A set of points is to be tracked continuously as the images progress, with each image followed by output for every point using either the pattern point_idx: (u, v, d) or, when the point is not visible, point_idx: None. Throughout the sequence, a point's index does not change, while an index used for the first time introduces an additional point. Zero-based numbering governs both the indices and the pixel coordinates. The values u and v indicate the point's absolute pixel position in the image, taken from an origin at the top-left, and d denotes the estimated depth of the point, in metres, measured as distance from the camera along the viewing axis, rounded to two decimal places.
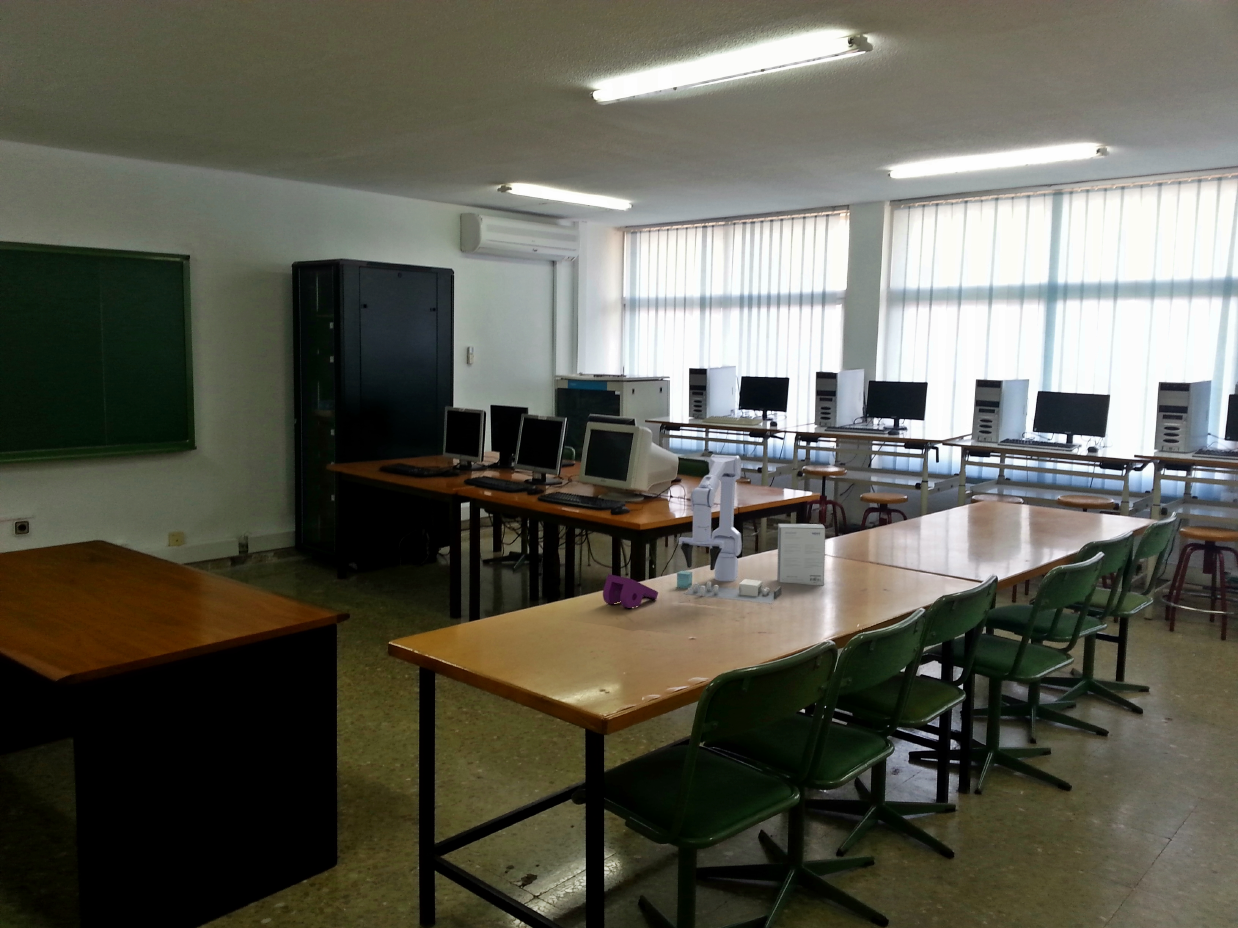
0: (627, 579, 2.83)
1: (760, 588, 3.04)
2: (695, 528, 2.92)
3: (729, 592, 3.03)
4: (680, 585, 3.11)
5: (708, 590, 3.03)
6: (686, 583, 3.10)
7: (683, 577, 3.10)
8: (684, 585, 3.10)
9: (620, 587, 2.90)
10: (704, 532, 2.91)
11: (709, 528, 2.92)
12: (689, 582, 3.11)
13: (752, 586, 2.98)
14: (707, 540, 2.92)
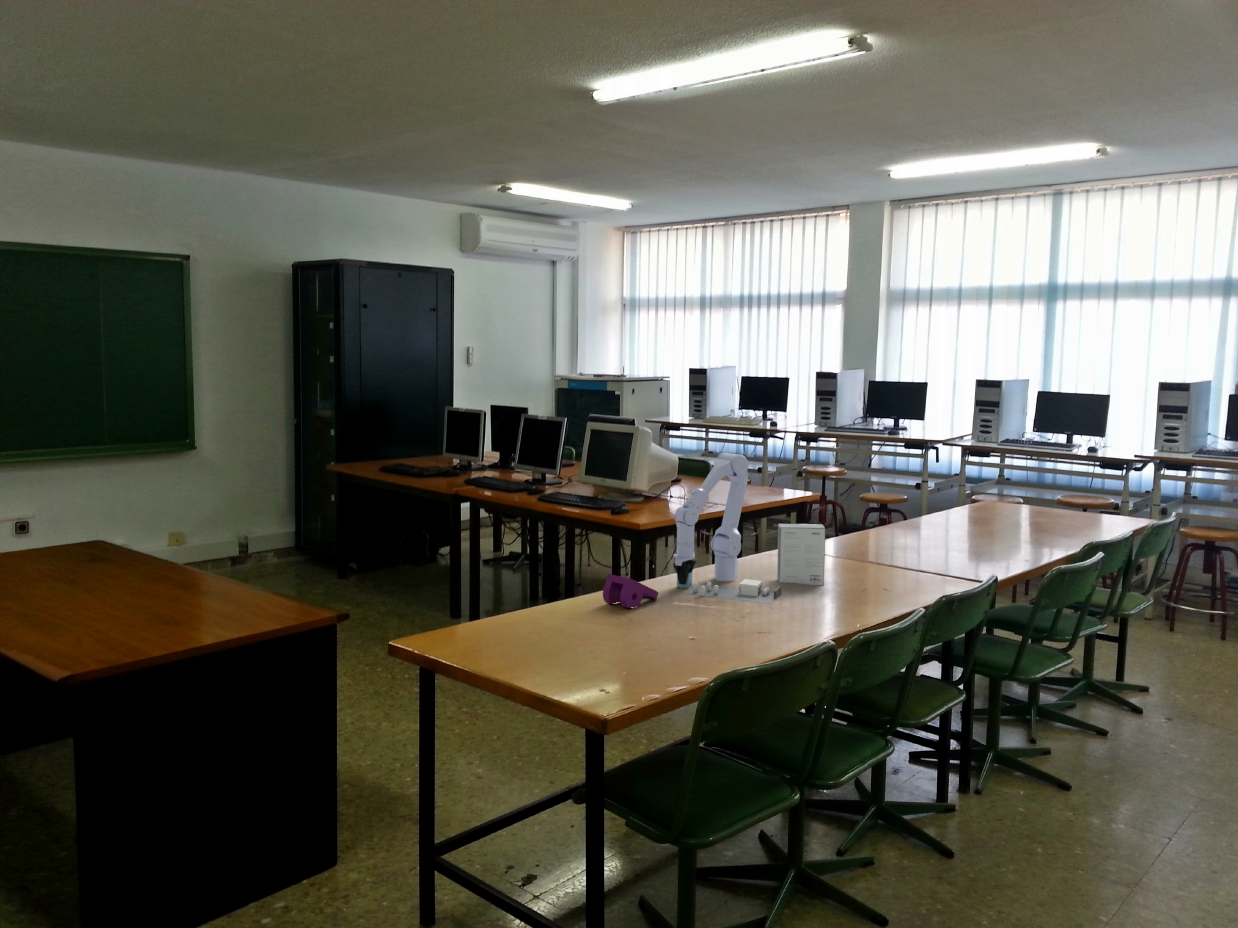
0: (627, 579, 2.83)
1: (760, 588, 3.04)
2: None
3: (729, 592, 3.03)
4: (680, 585, 3.11)
5: (708, 590, 3.03)
6: (686, 583, 3.10)
7: None
8: (684, 585, 3.10)
9: (620, 587, 2.90)
10: (677, 548, 3.10)
11: (681, 545, 3.09)
12: (689, 582, 3.11)
13: (752, 586, 2.98)
14: (678, 555, 3.10)
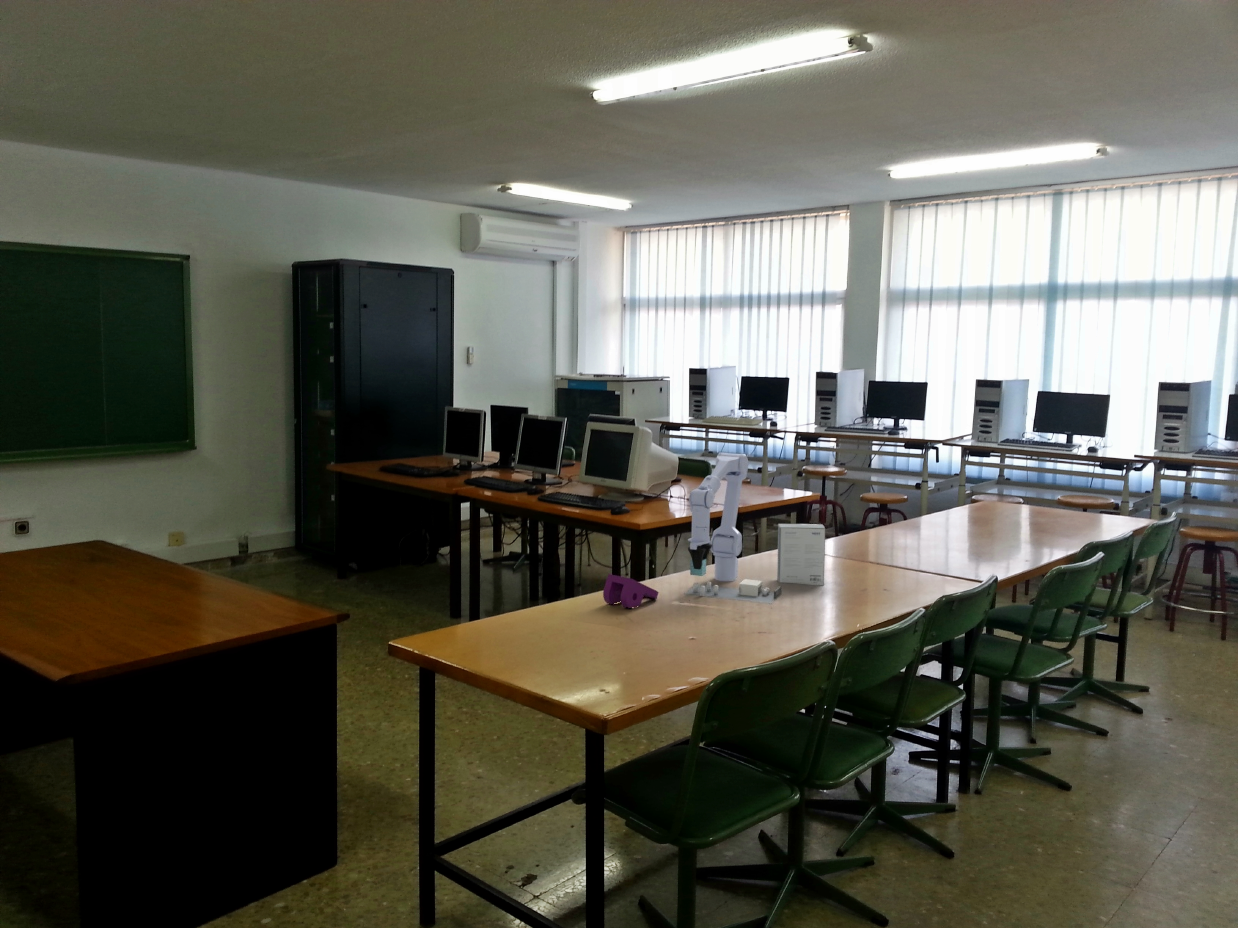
0: (627, 579, 2.83)
1: (760, 588, 3.04)
2: None
3: (729, 592, 3.03)
4: (693, 572, 3.02)
5: (708, 590, 3.03)
6: (700, 570, 3.01)
7: None
8: (697, 572, 3.02)
9: (620, 587, 2.90)
10: (692, 531, 3.01)
11: (696, 528, 3.00)
12: (703, 569, 3.02)
13: (752, 586, 2.98)
14: (693, 539, 3.01)
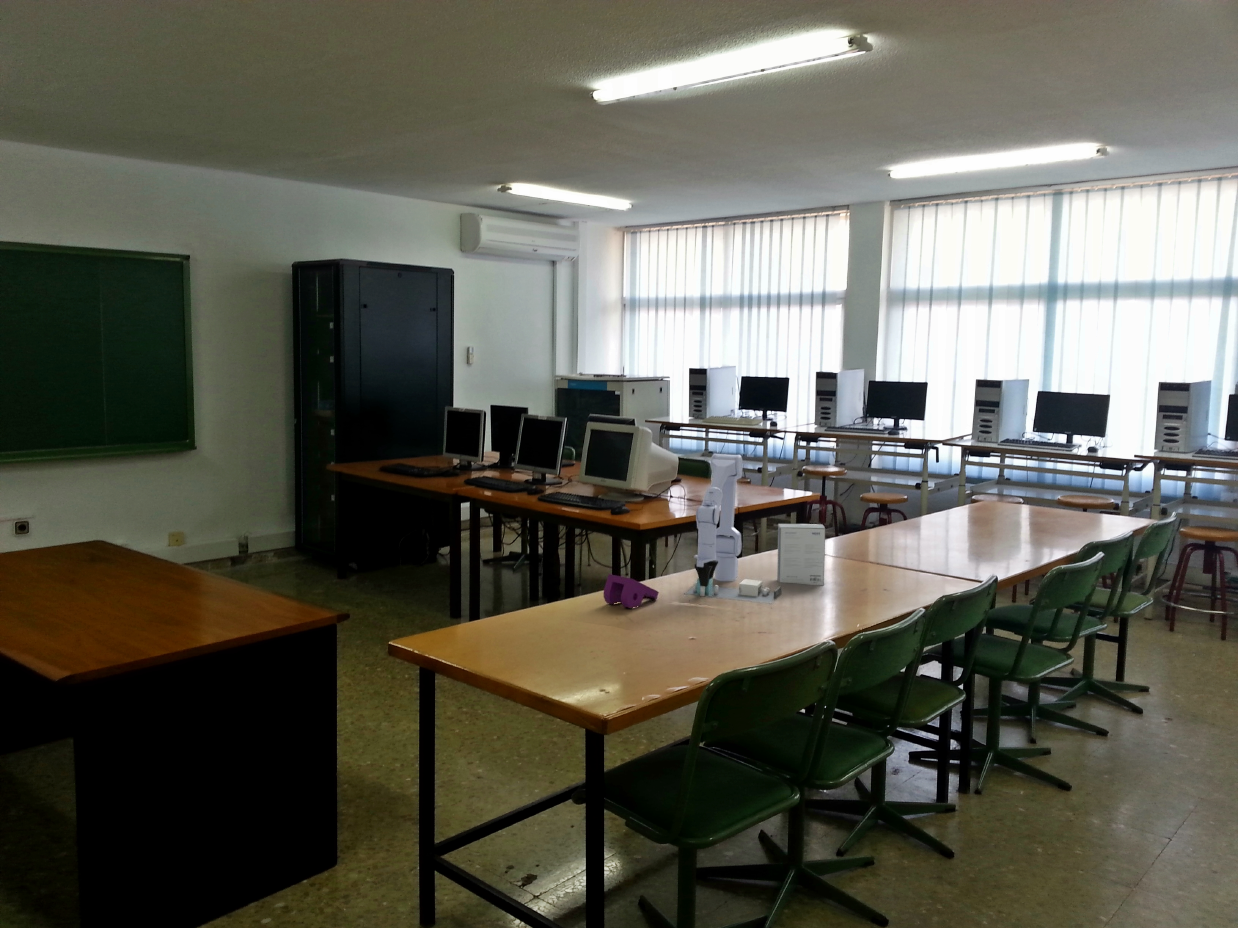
0: (628, 579, 2.83)
1: (760, 588, 3.04)
2: None
3: (729, 592, 3.03)
4: None
5: None
6: (706, 589, 2.98)
7: None
8: None
9: (621, 587, 2.90)
10: (698, 548, 2.99)
11: (702, 545, 2.97)
12: (709, 588, 2.99)
13: (752, 586, 2.98)
14: (699, 556, 2.98)
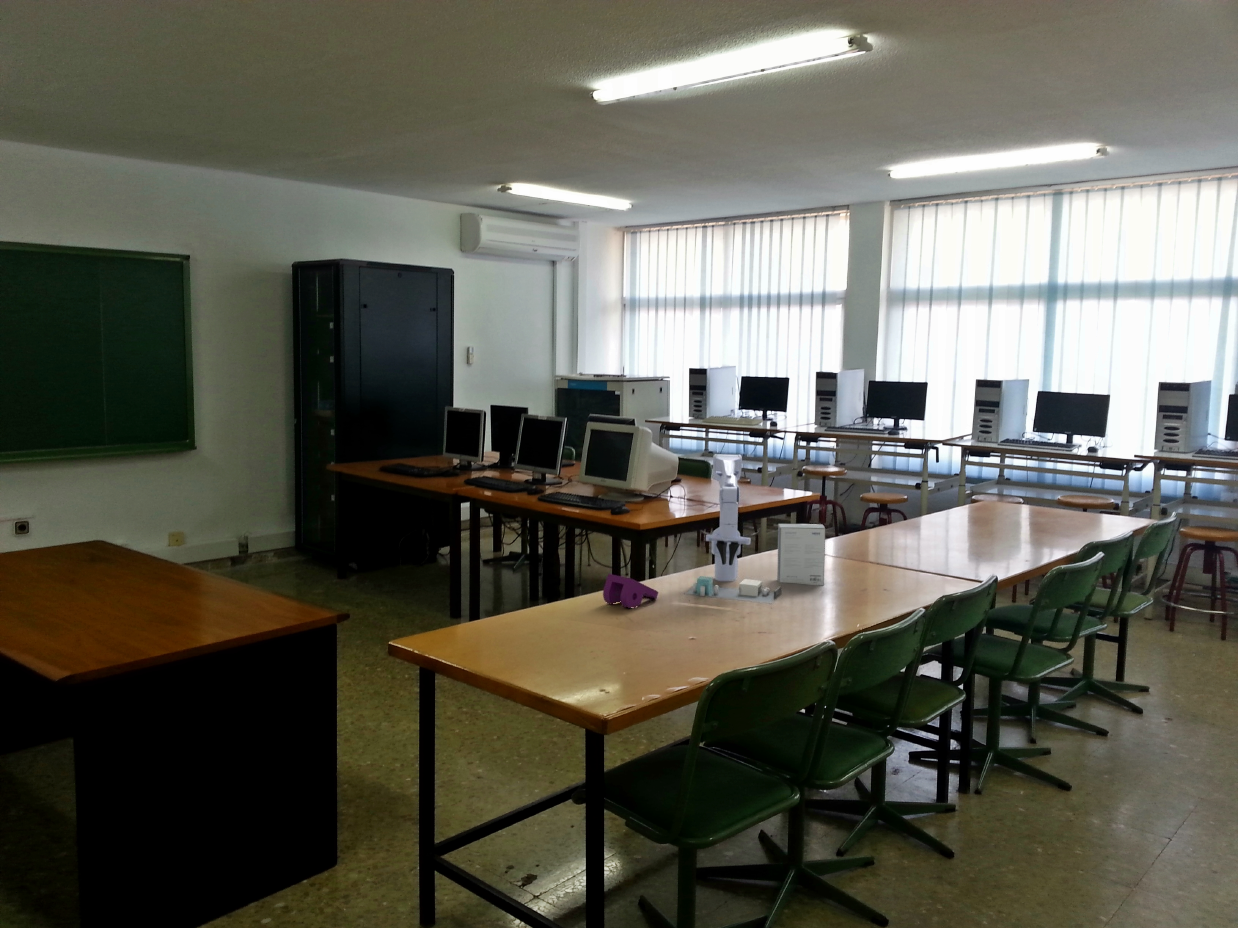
0: (627, 579, 2.84)
1: (760, 588, 3.04)
2: (722, 525, 3.01)
3: (729, 592, 3.03)
4: None
5: None
6: (706, 589, 2.98)
7: (703, 583, 2.99)
8: None
9: (620, 587, 2.90)
10: (731, 529, 3.00)
11: (736, 525, 3.01)
12: (709, 588, 2.99)
13: (752, 586, 2.98)
14: (734, 537, 3.01)
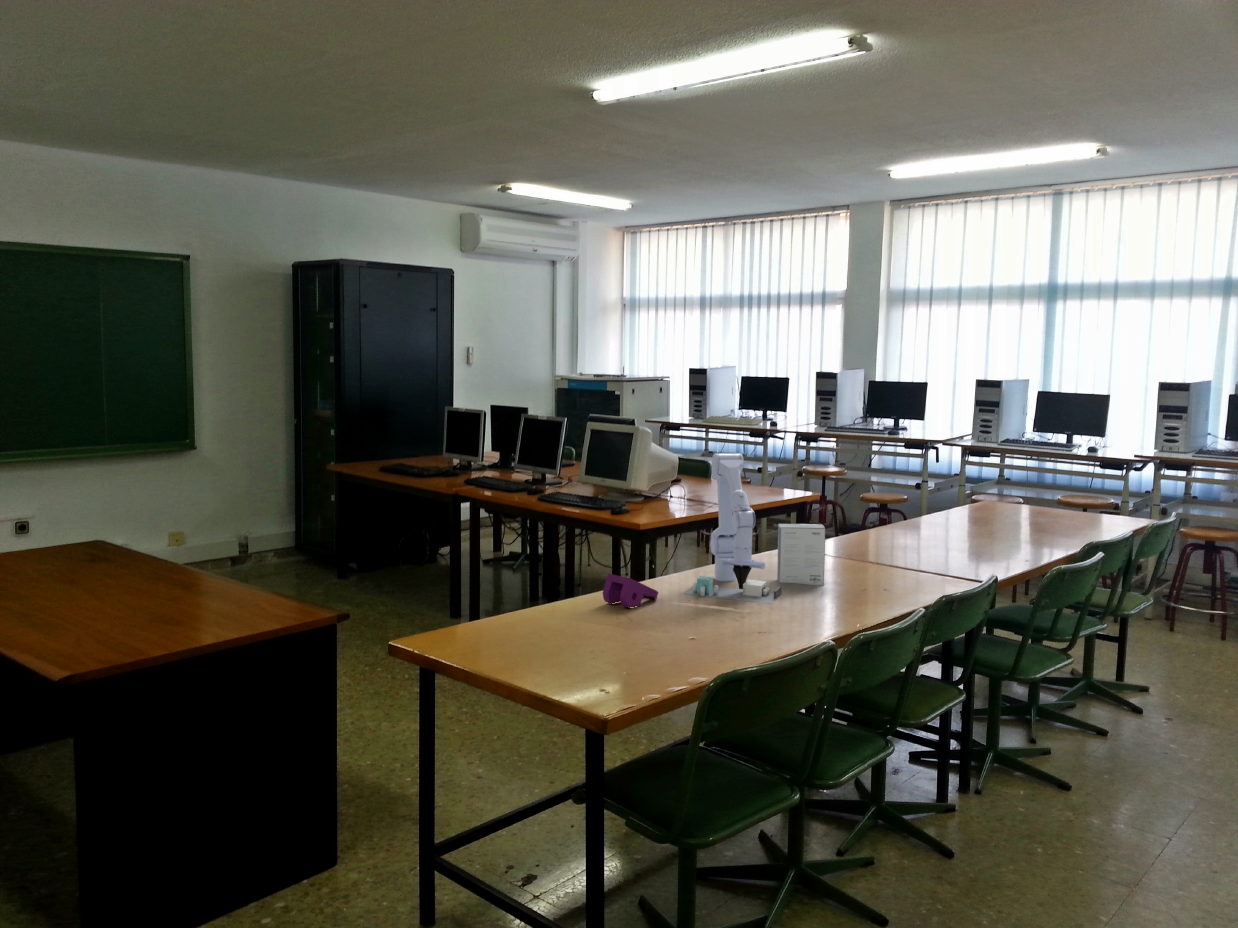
0: (627, 579, 2.84)
1: None
2: (737, 549, 3.00)
3: (729, 592, 3.03)
4: None
5: None
6: (706, 589, 2.98)
7: (703, 583, 2.99)
8: None
9: (620, 587, 2.90)
10: (745, 554, 2.99)
11: (750, 549, 3.00)
12: (709, 588, 2.99)
13: (756, 586, 2.98)
14: (748, 561, 3.00)
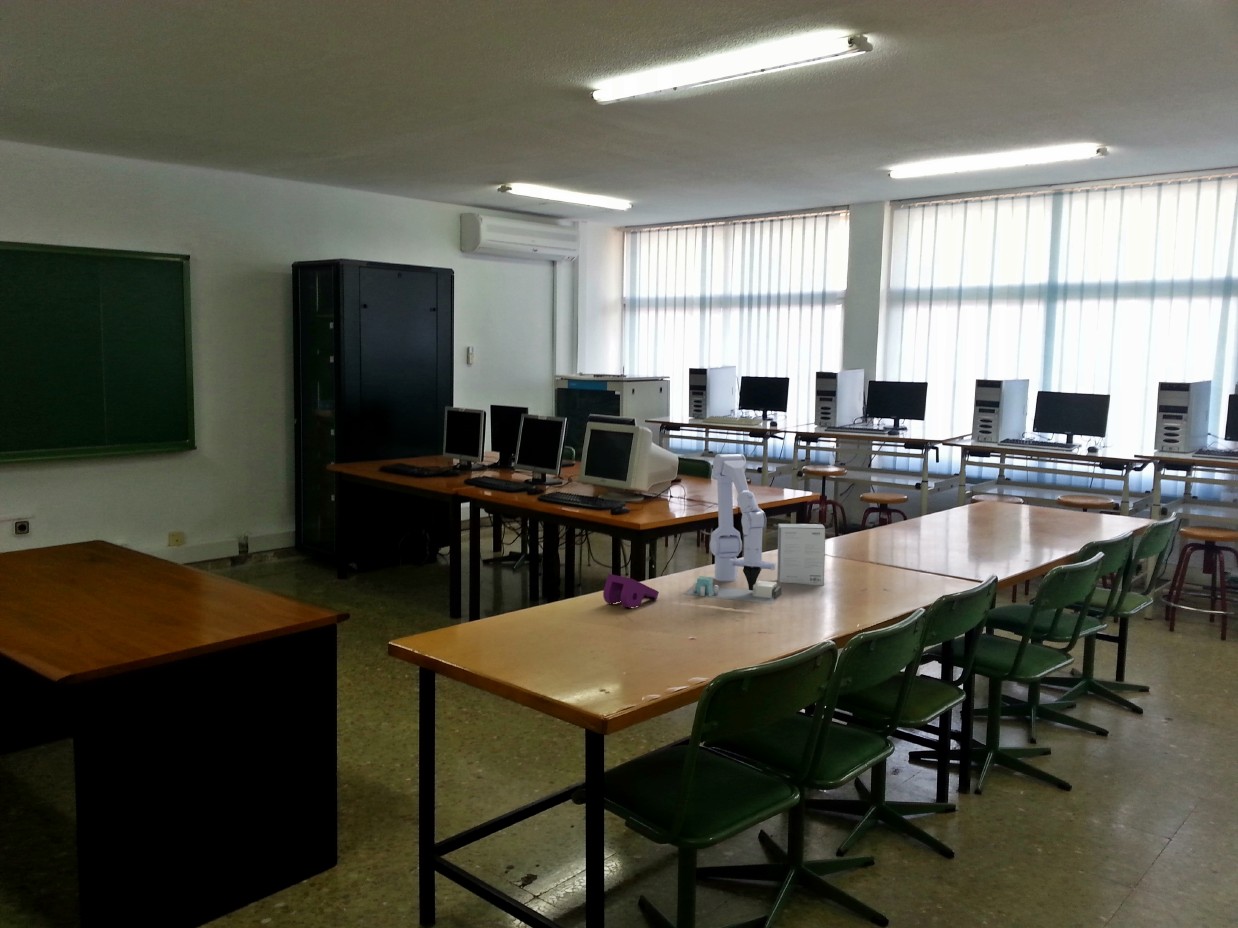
0: (627, 579, 2.84)
1: (774, 590, 3.02)
2: (747, 550, 2.99)
3: (729, 592, 3.03)
4: None
5: None
6: (706, 589, 2.98)
7: (703, 583, 2.99)
8: None
9: (620, 587, 2.90)
10: (756, 555, 2.98)
11: (760, 550, 2.99)
12: (709, 588, 2.99)
13: (766, 588, 2.97)
14: (758, 562, 2.99)
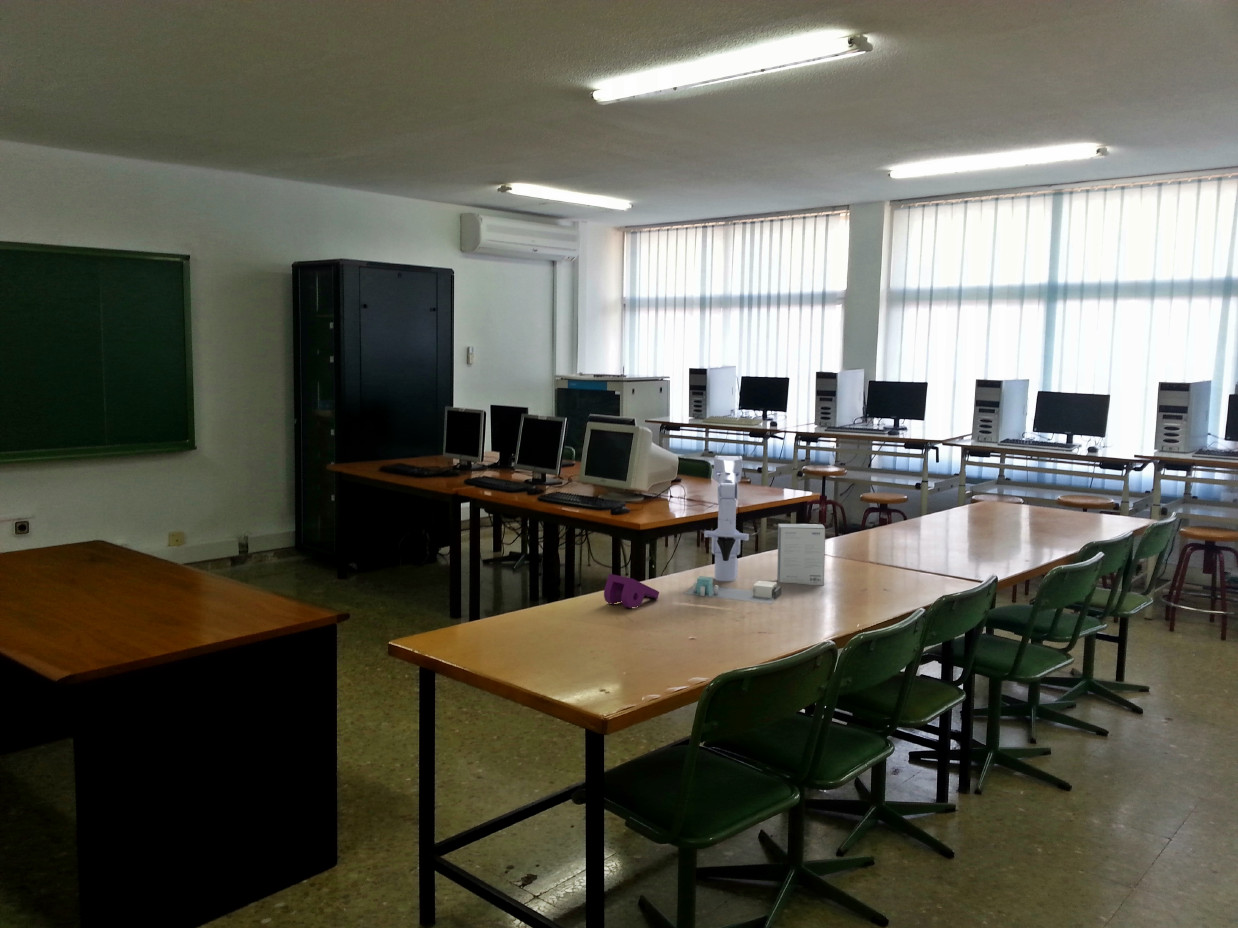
0: (628, 579, 2.84)
1: (774, 590, 3.02)
2: (721, 521, 3.03)
3: (729, 592, 3.03)
4: None
5: None
6: (706, 589, 2.98)
7: (703, 583, 2.99)
8: None
9: (621, 587, 2.90)
10: (729, 525, 3.02)
11: (734, 521, 3.03)
12: (709, 588, 2.99)
13: (766, 588, 2.97)
14: (732, 533, 3.03)
